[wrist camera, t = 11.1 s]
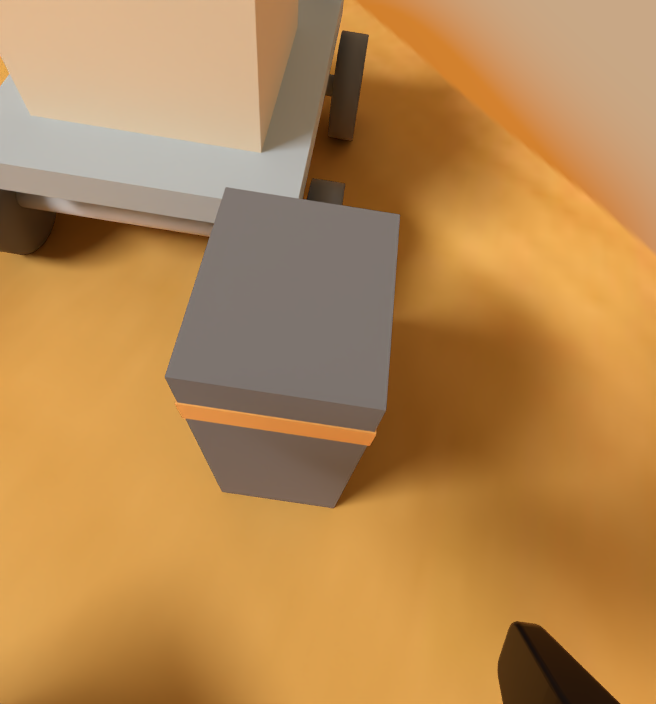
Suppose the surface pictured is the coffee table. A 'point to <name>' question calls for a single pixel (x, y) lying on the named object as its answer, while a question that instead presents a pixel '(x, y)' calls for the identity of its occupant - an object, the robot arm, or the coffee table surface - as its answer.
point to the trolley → (165, 108)
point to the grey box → (288, 344)
